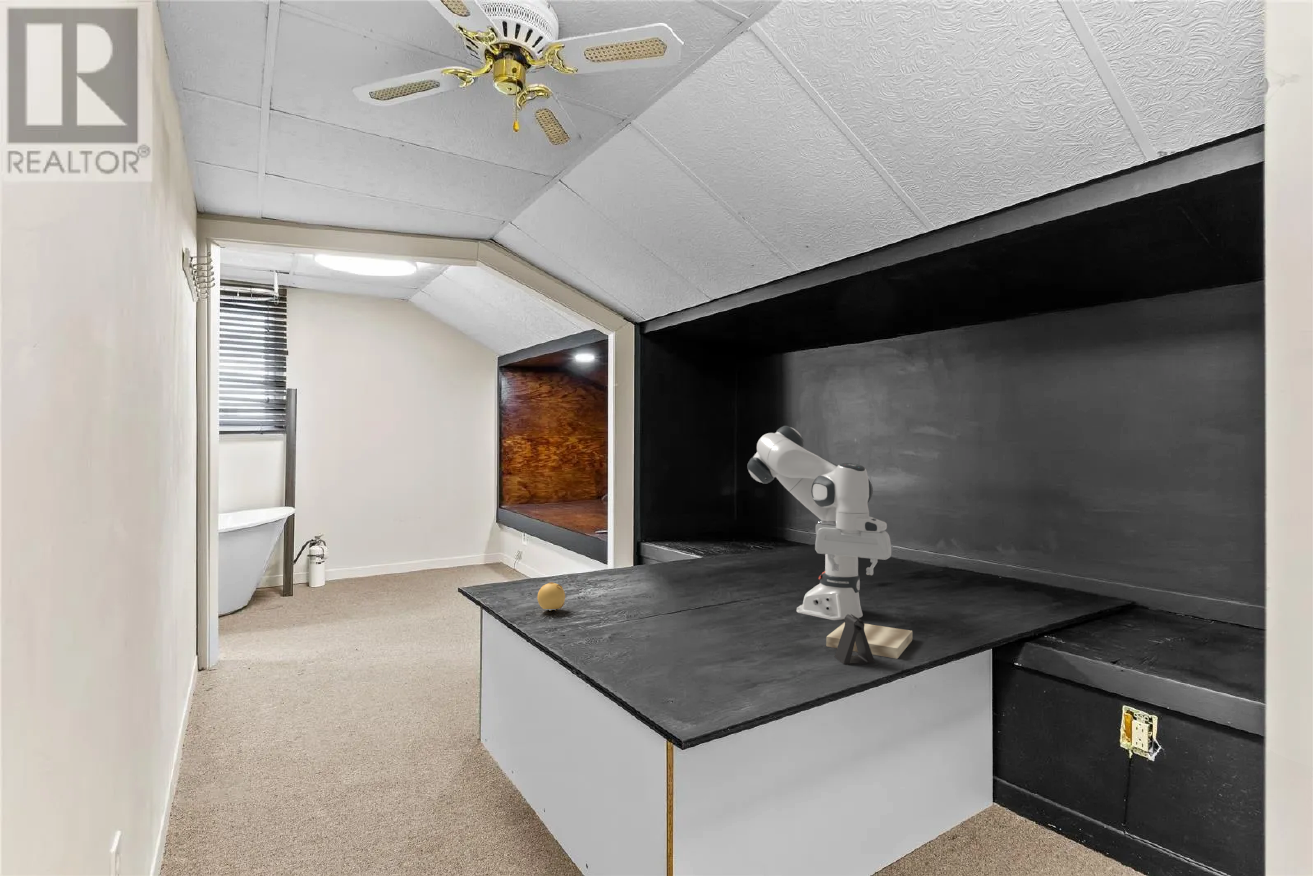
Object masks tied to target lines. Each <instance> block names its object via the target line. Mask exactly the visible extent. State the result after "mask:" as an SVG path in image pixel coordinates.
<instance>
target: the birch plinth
mask: <svg viewBox="0 0 1313 876" xmlns="http://www.w3.org/2000/svg"><path fill="white" fill-rule="evenodd" d="M844 626H845V621H844V622H843V623H842V624H840V625H839V626H838V627H837V628H835V629H834V630H833V631H832V632H830V633H828V635H827V636H826V642H825V645H826V648H827V647H828V648H832V649H834V648H835V649H837V647H838V644H839V641H840V638H841V635H842V632H843V629H844ZM864 632H865V635H866V638H867V641H868V644H869V646H870V649H871V652H872V655H874V656H879V657H880V656H881V657H884V658H885V657H886V658H891V659H896V660H897V659H898V658H899V657H900V656H901V655H902V654H903V652H905V650H906V648H907V647H909V645H910V644H911V643H912V641H913V630H909V629H903V628H897V627H896V628H895V627H889V626H882V625H874V624H869V623H864ZM853 652H856V653H858V650H857V646H856V642H855V644H854V648H853Z"/></svg>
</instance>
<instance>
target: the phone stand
mask: <svg viewBox="0 0 1313 876" xmlns="http://www.w3.org/2000/svg"><path fill="white" fill-rule="evenodd" d="M851 615H852V614H851ZM852 616H853V617H852ZM852 616H850V615H848V614H847V615H846V616H845V619H844V622H845V626H844V629H843V632H842V635H841V638H840V641H839V644H838V647H837V648H836V650H835V654H834V658H835V659H836V660H838V661H839V662H840V663H841V664H842V665H858V664H859V665H860V664H862V665H863V664H875V658H874V656H873V654H872V652H871V649H870V646H869V644H868V641H867V638H866V635H865V632H864V624H865V622H864V620H862V619H860V618H857V617H855V616H854V615H852ZM855 642H856V646H857V650H858V652H857V653H858V655H853V652H854V651H853V648H854V644H855Z"/></svg>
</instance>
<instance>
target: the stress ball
mask: <svg viewBox="0 0 1313 876" xmlns="http://www.w3.org/2000/svg"><path fill="white" fill-rule="evenodd" d="M565 601H566V592H565V590H564V587H563V586H562V585H560V584H558V583H556V582H553V581H551V582H548V583H546V584H543V585H542V586H541V588H539V590H538V593H537V603H538V605H539V606H540V608H541V609H543V610H544V609H558V610H559V609H562V608H563V607H564V605H565Z"/></svg>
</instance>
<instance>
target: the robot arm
mask: <svg viewBox="0 0 1313 876" xmlns="http://www.w3.org/2000/svg"><path fill="white" fill-rule="evenodd" d="M746 467H747V468H746V469H747V470H748V473H749V474H750V477H751V478H752V479H753V480H755V481H756V482H759V483H762V484H767V485H768V484H769V483H771V482H773V480H774V479H775V478H776V480H778V481H779V483H780V484H781V485H782V486H783V488H784V489H786V491H788V492H789V493H790V494H791V495H792V496H793V497H794V498H795V499H796V500H797V501H798V502H800V504H802V505H803V506H804V507H805V508H806V509H807V510H808V511H810V512H811V513H812V514H813V515H815V517H817V518H818V519H819V520H820V521H818V522H817V523H815V534H816V536H815V544H814V551H816V554H819V555H820V554H821V555H824V556H825V559H824V561H825V562H824V563H825V565H824V567H825V568H824V571H823V572H822V573H821V574H820V575H819V576H818V580H819V584H817V585H815V586H813V588H811V589H810V590H808V591H807V592H806V593H805V595H804V597H803V601H802V604H800V605H799V606H797V607H796V612H797V613H798V614H801V615H802V614H803V615H808V616H811V617H812V616H813V617H817V618H821V619H827V620H831V621H841V620H845V616H846V615H847V614H848V615H850V616H852V615H854V616H855V617H857V618H859V619H860V618H862V617H863V615H864V614H863V611H862V607H861V601H860V593H859V592H860V590H861V589H860V586H861V581H860V575H859V558H861V559H870V563H871V565H870V567H869V566H868V567H866V569H865V571H866V573H865V574H866V575H867V576H873V575H874V568H875V567H876V565H877V563H878V562H879V561H878V560H883V561H884V560H885V561H886V560H888V559H890V558H891V556H892V543H891V536H890V535H889V533H888V531H886V530H887V528H888V524H887V522H885V521H884V520H880V519H878V518H875V517H872V516H870V510H869V506H868V503H870V501H871V499H872V497H873V495H874V487H873V484H872V481H870V479H869V475H868V471H867V469H866V467H864V466H863V465H861V464H857V463H851V462H849V463H848V462H844V463H840V464H838V465H837V464H836V463H833V462H832V461H830V460H827V459H825V458H823V457H821V456H819V455H817V454H815V453H813V452H811V451H809V450H807V449H806V448H804V439H803V436H802V434H801V433H800V432H799V431H798V430H797V429H795V428H794V427H791V426H790V425H789V426H788V425H783V426H781V427H779V428H778V429H777V430H776V432H768V433H765V434H763V435H762V436H761V437H760V438H759V439H758V441H757V443H756V453H754V455H753V456H752V457H751V458H750V459H749V461H748V463H747V466H746ZM851 614H852V615H851ZM852 617H853V616H852Z"/></svg>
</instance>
